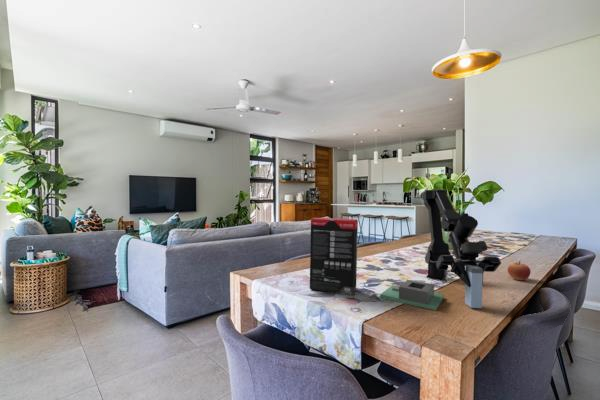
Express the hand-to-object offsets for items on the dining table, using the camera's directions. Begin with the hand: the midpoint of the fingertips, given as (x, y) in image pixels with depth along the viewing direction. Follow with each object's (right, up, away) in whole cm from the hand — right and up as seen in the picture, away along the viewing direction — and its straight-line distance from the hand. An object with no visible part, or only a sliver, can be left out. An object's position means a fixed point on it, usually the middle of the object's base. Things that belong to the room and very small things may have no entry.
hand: (475, 286), depth 92 cm
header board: (-17, -7, +9) cm, 20 cm away
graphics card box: (-43, -7, +17) cm, 47 cm away
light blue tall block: (0, -7, +2) cm, 7 cm away
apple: (+38, -7, +32) cm, 50 cm away
